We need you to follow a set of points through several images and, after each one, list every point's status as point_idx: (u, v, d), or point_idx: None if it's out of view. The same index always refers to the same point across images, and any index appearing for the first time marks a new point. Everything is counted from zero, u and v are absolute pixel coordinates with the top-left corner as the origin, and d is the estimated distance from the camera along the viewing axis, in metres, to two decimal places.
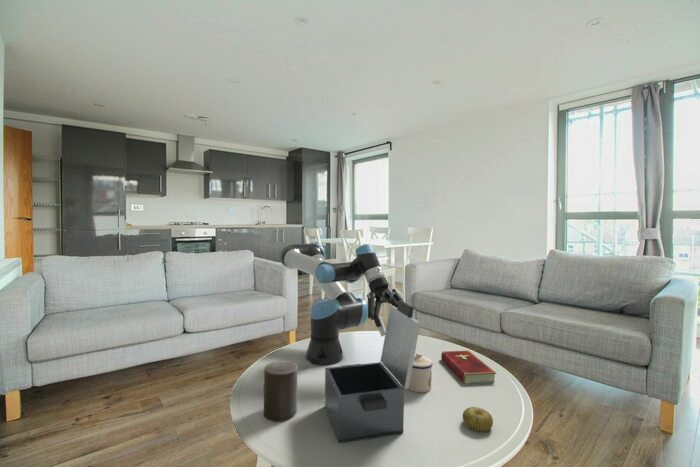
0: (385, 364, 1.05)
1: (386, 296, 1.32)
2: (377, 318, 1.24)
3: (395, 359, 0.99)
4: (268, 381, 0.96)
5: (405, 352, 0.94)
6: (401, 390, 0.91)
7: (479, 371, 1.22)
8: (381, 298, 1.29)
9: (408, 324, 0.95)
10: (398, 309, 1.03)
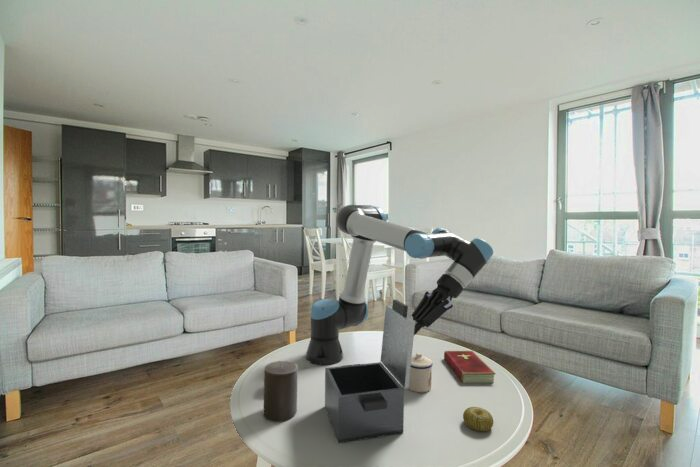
0: (385, 364, 1.05)
1: None
2: None
3: (393, 359, 0.99)
4: (269, 381, 0.97)
5: (402, 352, 0.94)
6: (401, 390, 0.91)
7: (478, 371, 1.22)
8: None
9: (403, 324, 0.95)
10: (393, 309, 1.03)
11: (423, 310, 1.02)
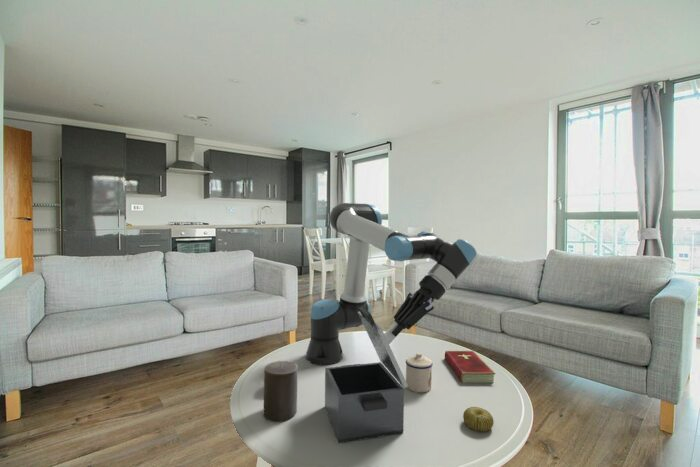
0: (384, 364, 1.05)
1: None
2: None
3: (386, 361, 0.98)
4: (268, 381, 0.96)
5: (387, 356, 0.93)
6: (401, 390, 0.91)
7: (477, 371, 1.22)
8: None
9: (375, 331, 0.93)
10: (363, 316, 1.00)
11: (405, 312, 1.01)
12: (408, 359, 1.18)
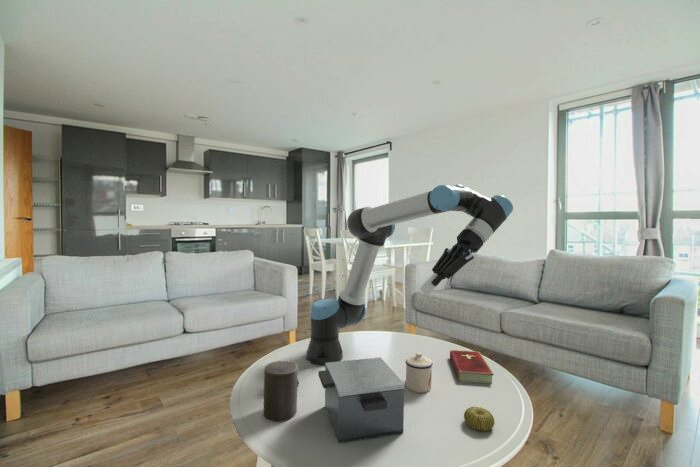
0: None
1: None
2: None
3: None
4: (268, 381, 0.96)
5: None
6: (401, 390, 0.91)
7: (476, 371, 1.22)
8: None
9: None
10: None
11: (444, 264, 1.04)
12: (408, 359, 1.18)
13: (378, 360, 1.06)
